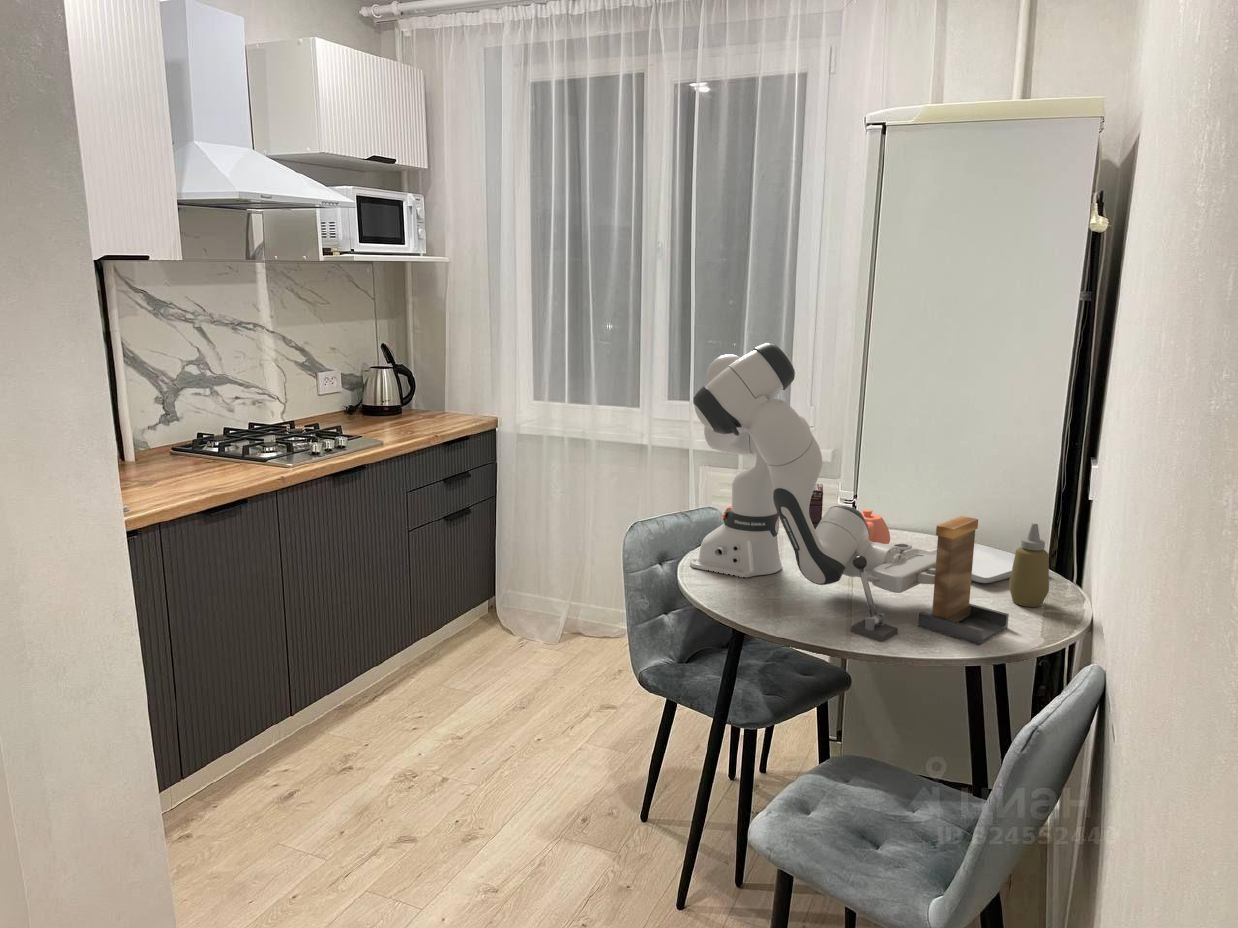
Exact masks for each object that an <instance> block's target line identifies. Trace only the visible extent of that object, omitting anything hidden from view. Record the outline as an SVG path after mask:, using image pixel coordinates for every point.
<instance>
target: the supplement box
mask: <svg viewBox="0 0 1238 928" xmlns="http://www.w3.org/2000/svg"><path fill="white" fill-rule="evenodd" d="M823 499H824V486H823V484H822V483H816V484H815V487H814V490H813V493H812V496H811V500H810V505H809V516H810V519H811V522H812V524H813V526H814V529H816V527H817V526H818V524H819V522H820V521H821V519H822V518H823V505H824V504H823V503H824V502H823V501H824V500H823Z"/></svg>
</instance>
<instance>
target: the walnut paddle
mask: <svg viewBox="0 0 1238 928" xmlns="http://www.w3.org/2000/svg"><path fill="white" fill-rule="evenodd" d="M978 528H979V518H975V517H974V518H973V517H969V516H964V515H960V516H958V517H957V516H956V517H955V518H953V519H950V520H947V521H944V522H942V523H939V524H937V525H936V528H935V536H936V537H937V543H936V544H937V545H936V550H937V556H936V569H935V583H934V584H933V597H932V611H931V615H935V616H938V617H942V618H945V619H949V620H952V621H956V622H959V621H961V620H963V619H964V618H966V617H968V616H970V615H971V607H969V603H970V598H971V597H970V596H971V586H972V580H971V576H972V564H973V552H974V543H975V539H976V538H975V537H976V530H978Z"/></svg>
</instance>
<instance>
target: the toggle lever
mask: <svg viewBox="0 0 1238 928" xmlns="http://www.w3.org/2000/svg"><path fill="white" fill-rule="evenodd" d="M853 565H854V567H855V568H857V569H859V573H860V576H861V578H860V580H861V583H862V587H863V590H864V591H863V592H864V595H865V599H866V603H867V607H868V610H869V615H870V616H869V617H870V618H874V619H875V625H874V627H875V626H877V625H879V624H881V623H882V621H883V619H882V617H881V615H879V614H876V612H877V610H876V607H875V604H874V599H873V596H872V591H871V587H870V584H869V583H870V582H868V579H867V575H866V571H865V567H866V566H867V560H866V558H865V557H864V556H861V555H858V556H856V557H855V558H854V559H853Z"/></svg>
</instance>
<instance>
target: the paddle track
mask: <svg viewBox="0 0 1238 928" xmlns="http://www.w3.org/2000/svg"><path fill="white" fill-rule="evenodd" d="M969 607H971V615H970V616H968V617H966V618H964V619H963V620H961V621H959V622H956V621H952V620H949V619H945V618H942V617H938V616H935V615H931V614H932V613H931V614H930V613H928V612H923V611H919V612H918V618H917V627H918V628H922V629H924V630H928V631H931V632H934V633H937V634H941V635H944V636H948V637H951V638H954V639H957V640H960V641H964V642H968V643H971V644H974V645H978V646H980V645H982V644H984V643H986V642H987V641H989V640H990V639H992V638H993V636H994V637H995V636H997V635H998V634H1000V633H1001V632H1003V631H1005V630H1007V629H1008V626H1009V616H1010V615H1009V614H1010V613H1006V612H1003V611H999V610H995V609H992V608H987V607H985V606H980V605H976V604H972V603H970V602H969Z"/></svg>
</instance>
